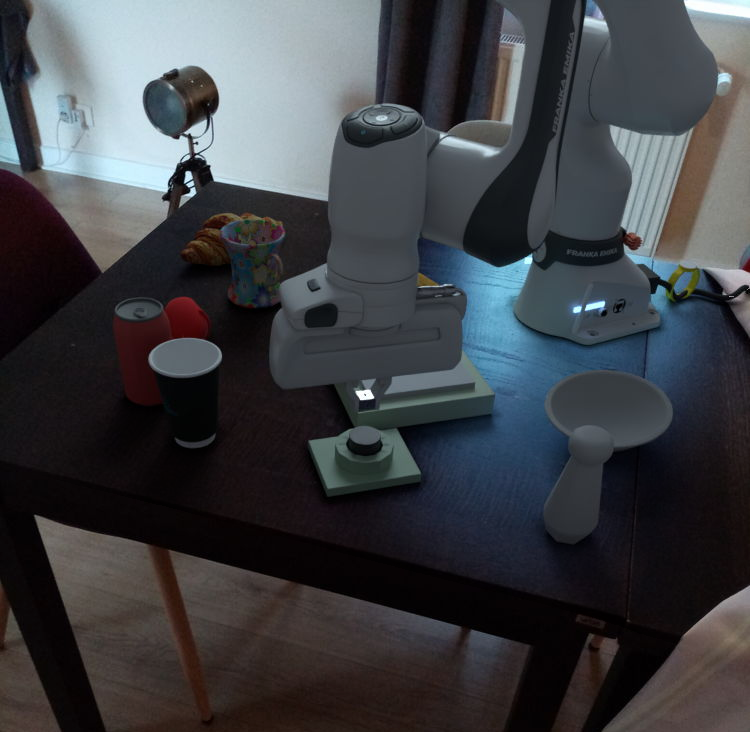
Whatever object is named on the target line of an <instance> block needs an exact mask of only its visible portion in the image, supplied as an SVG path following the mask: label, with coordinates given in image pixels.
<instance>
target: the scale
mask: <svg viewBox="0 0 750 732" xmlns="http://www.w3.org/2000/svg"><path fill="white" fill-rule="evenodd" d="M375 380H376V379H370V380H361V381H359V385H358V388H354V389H355V390H356V391H363V390H370V388H371V386H372V385H373V383H374V382H375ZM333 386H334V387H335V390H336V392H337V394H338V396H339V398H340V400H341V402H342V404H343V406H344V408H345V410H346V412H347V415H348V417H349V419H350V421H351V423H352V426H353V428H355V427H358V426H370V427H373V428H375V429H377V430H386V429H393V428H403V427H410V426H417V425H424V424H430V423H437V422H443V421H444V422H445V421H450V420H452V421H453V420H457V419H458V420H459V419H464V418H465V419H466V418H472V417H479V416H486V415H493V410H494V404H495V400H496V392H494V391H493V389H492V387H491V386H490V385H489V384H488V382H487V381H486V379H485V378H484V377H483V375H482V374H481V372H479V369H477V367H476V366H475V365H474V363H473V362H472V360H471V359H470V358H469V356H468V355H467V354H466V353H465V351H464V349H462V357H461V361H460V362H459V363H458V365H457V366H456V367H455V368H454V369H452V370H446V371H438V372H429V373H421V374H412V375H404V376H395V377H392V384H391V385H390V387H389V388H388V389H387V391H386V392H385V393H384V395H383V396H382V397H381V398H380V408H379V410H372V411H365V412H357V413H353V411H352V409H351V407H350V395H349V393H348V392H347V390H346V389H345V387H344V385H343V383H336V384H333Z"/></svg>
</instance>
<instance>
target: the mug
mask: <svg viewBox="0 0 750 732" xmlns="http://www.w3.org/2000/svg"><path fill="white" fill-rule="evenodd" d="M220 236H221V238H222V240H223V242H224V244H225V246H226V248H227V251H228V253H229V257H230V260H231V263H230V265H231V281H230V286H229V288H228V290H227V297H228V299H229V300H230V301H231V302H232V303H233V304H234V305H236V306H238V307H240V308H241V307H242V308H245V309H255V310H256V309H257V310H258V309H266V308H270V307H273V306H275V305H277V304H279V303H281V301H280V296H279V287H280V284H281V282H280V281H281V280H282V278H283V275H284V264H283V261H282V259H281V257H280V256H279V255H280V250H281V247H282V244H283V241H284V239H285V238H286V231H285V228H284V227H283V228H282V227H281V226H280V225H278V224H276V223H274V222H270V221H266V220H259V219H246V220H238V221H234V222H231V223H229V224H227V225H225V226H224V227H223V228H222V229H221V231H220Z"/></svg>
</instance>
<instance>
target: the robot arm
mask: <svg viewBox="0 0 750 732" xmlns="http://www.w3.org/2000/svg"><path fill="white" fill-rule="evenodd" d="M494 1H495V2H496V3H497V4H499V5H500V6H501V7H503V8H504V9H505V10H506V11H508V13H510V14H512V15H513V17H514V18H515V19H516V21H518V23H519V26H520V27H521V29H522V35H523V41H524V42H523V43H524V51H523V53H522V54H523V55H522V61H521V70H520V77H519V82H518V88H517V94H516V100H515V105H514V112H513V118H512V124H511V130H510V135H509V138H508V141H506V143H505V144H504V145H503V146H501V147H497V146H493V145H489V144H485V143H481V142H479V141H474V140H470V139H467V138H463V137H459V136H457V135H455V134H453V133H447V132H444V131H441V130H437V129H434V128H432V127H429V126H427V125H426V122H425V120H424V118H423V116H422V115H421V114H420V113H419V112H418V111H416V110H415V109H414V108H412V107H409V106H405V105H402V104H396V103H377V104H371V105H370V104H368V105H364V106H361V107H359V108H357V109H355V110H353V111H351V112H350V113H348V114H346V116H344V117H343V118H342V120H341V121H340V123H339V125H338V128H337V131H336V135H335V137H334V143H333V147H332V153H331V158H330V159H331V160H330V165H329V168H330V169H329V176H328V191H327V192H328V193H327V220H328V223H329V227H330V234H331V241H330V244H329V248H328V251H327V253H326V254H327V255H326V263H324V264H321V265H319V266H317V267H314V268H312V269H310V270H308V271H306V272H304V273H302V274H298V275H296V276H293V277H291V278H288V279H286V280H283V281H282V282H280V287H279V296H280V305H281V308H280V309H279V310H278V311H277V312H276V314H275V315H274V318H273V320H272V324H271V330H270V337H269V351H268V354H269V355H268V363H269V365H268V366H269V370H270V374H271V376H272V378H273V381H274V382H275V383H276V385H277V386H278V387H280V388H281V389H282V390H293V389H302V388H309V387H318V386H326V385H334V384H336V383H343V385H344V387H345V389H346V390H347V392H348V393H349V395H350V407H351V409H352V411H353V413H357V412H365V411H372V410H379V408H380V398H381V397H382V396H383V395H384V393H385V392H386V391H387V389H388V388H389V387H390V385H391V384H392V377H395V376H404V375H412V374H421V373H429V372H438V371H446V370H452V369H454V368H455V367H456V366H457V365H458V363H459V362H460V361H461V357H462V350H463V342H464V341H463V334H464V333H463V320H464V318H465V317H466V313H467V307H468V306H467V305H468V297H467V293H466V292H465V290H463V289H462V288H460V287H457V286H456V284H453V283H444V284H441V285H439V286H419V287H417V283H418V273H420V269H419V268H420V256H419V252H418V241H419V239H421V238H424V239H426V240H428V241H431V242H434V243H438V244H441V245H443V246H447V247H449V248H453V249H456V250H459V251H461V252H464V253H465V254H466V255H468V256H470V257H472V258H475V259H477V260H480V261H482V262H484V263H486V264H488V265H491V266H492V267H496V268H504V267H507V266H510V265H512V264H515V263H517V262H520V261H521V260H524V265H525V264H526V265H527V264H528V265H529V264H530V265H529V268H528V272H527V274H526V277H525V279H524V284H523V285H522V287H521V290H520V292H519V294H518V296H517V298H516V300H515V301H514V304H513V308H512V310H513V313H514V315H515V316H516V318H517V319H518V320H519V321H520V322H521V323H523V324H524V325H526V326H527V327H529V328H531V329H533V330H535V331H538V332H540V333H543V334H546V335H549V336H550V335H551V336H555V337H560V338H565V339H567V340H571V341H572V342H575V343H578V344H580V345H585V346H592V345H595V344H599V343H603V342H606V341H610V340H614V339H618V338H621V337H626V336H629V335H633V334H636V333H641V332H644V331H648V330H652V329H655V328H658V327H660V323H661V316H660V312H659V311H658V310H657V308H656V307H655V306H654V304H653V303H651V301H650V300H651V295H656V293H657V290H658V287H662V288H664V289H667V290H668V292H669V294H670V292H671V289H672V285H671V284H670V283H669V282H668V280H665V279H663V278H661V276H660V275H659V274H658V273H656V272H655V271H654V270H653V269H651V268H650V267H648V266H647V265H646V264H645V263H635V262H634V261H633V259H631V257H629V255H628V254H626V252H625V246H626V247H627V248H628V249H629V250H631V251H632V252H635V251H637V250H639V248H640V247H641V245H642V244H643V239H642V237H640V235H637V234H636V233H635V232H632V231H631V232H627V230H626V229H625V228H624V227H623V226H622V223H623V219H624V215H625V211H626V207H627V203H628V201H629V196H630V193H631V189H632V185H633V173H632V170H631V169H632V168H631V165H630V164H629V162H628V160H627V158H625V157H624V156H623V154H622V153H621V152H620V151H619V149H618V148H617V146H616V144H615V142H614V140H613V136H612V131H611V126H612V127H616V128H620V129H622V130H627V131H631V132H632V133H637V134H640V135H647V136H659V137H661V136H663V137H664V136H666V137H679V136H682V135H684V134H686V133H688V132H689V131H690V130H692V129H693V128H695V127H696V126H697V125H698V124H699V123H700V121H702V120H703V118H704V117H705V115H706V114H707V113H708V111H709V109H710V108H711V106H712V104H713V102H714V100H715V97H716V93H717V89H718V84H719V70H718V69H719V68H718V64H717V60H716V57H715V55H714V53H713V51H711V49H710V48H709V47H708V46H707V44H705V42H704V41H703V40H702V38H701V37H700V35H699V33H698V32H697V30H696V29H695V26H694V25H693V22H692V20H691V16H690V15H689V13H688V10H687V7H686V2H685V0H591V1H592V2H593V3H594V4H595V6H596V7H597V8H598V10H599V11H600V13H601V15H602V17H603V18H599V17H595V16H590V15H586V12H587V3H588V0H494ZM530 255H531V257H530ZM749 286H750V285H748V284H743V285H740V286H739V287H738V288H737V289H736V290H734V291H733V292H731V293H728V294H719V293H716V292H712V291H709V290H706V289H702V288H697V287H696V288H695V289H694V290H693V292H692V293H691V294H690V295H695V296H701V297H704V298H706V299H709V300H714V301H719V302H727V301H728V302H729V301H732V300H734V299H737V298H738V297H739V296H741V295H743V293H744V292H745V293H746V294H750V289H748V288H749ZM747 289H748V290H747ZM683 290H684V289H683ZM683 290H682V291H683ZM682 291H681V292H679V293H680V294H679V293H677V292H676V291H675V288H674V289H673V294H672V295H673V299H674V300H675V302H679V301H681V300H683V299H682V298H683V297H685V296H686V295H687V293H688V290H684V291H683V292H682ZM677 294H678V295H677ZM690 295H689V296H690ZM729 296H734V297H729ZM370 379H376V380H375V382H374V383H373V385H372V386H371V388H370V390H363V391H356V390H355V389H354V388H358V385H359V381H361V380H370Z"/></svg>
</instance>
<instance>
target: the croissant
mask: <svg viewBox="0 0 750 732" xmlns="http://www.w3.org/2000/svg"><path fill="white" fill-rule="evenodd" d="M246 219H259V220H266V221H270V222H274V223H276V224H278V225H280V226H281V227H282V228H283V229H284V224H283V222H282V220H274V219H273V218H271V217H269V216H264V217H263V218H262V217H260V216H256V215H255V214H252V213H251V212H245V213H243V214H241V215H240V216H238V215H236V214H234V213H232V212H226V213H219V214H215V215H213V216H211V217H209V218H208V219H207V220H206V221H204V222H203V224H202V227H201V230H199V231H197V232H196V233H195V235H194V238H193V240H191V241H190V242H189V243H187V244H186V246H185V247H184V249H183V250H181V251H180V257H181V258H182V260H183V261H185V262H186V263H189V264H194V265H204V266H209V267H211V266H212V267H220V266H222V265H227V264H229V265H231V260H230V257H229V253H228V251H227V248H226V246H225V244H224V242H223V240H222V238H221V236H220V231H221V229H222V228H223V227H224V226H225V225H227V224H229V223H231V222H234V221H238V220H246Z"/></svg>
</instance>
